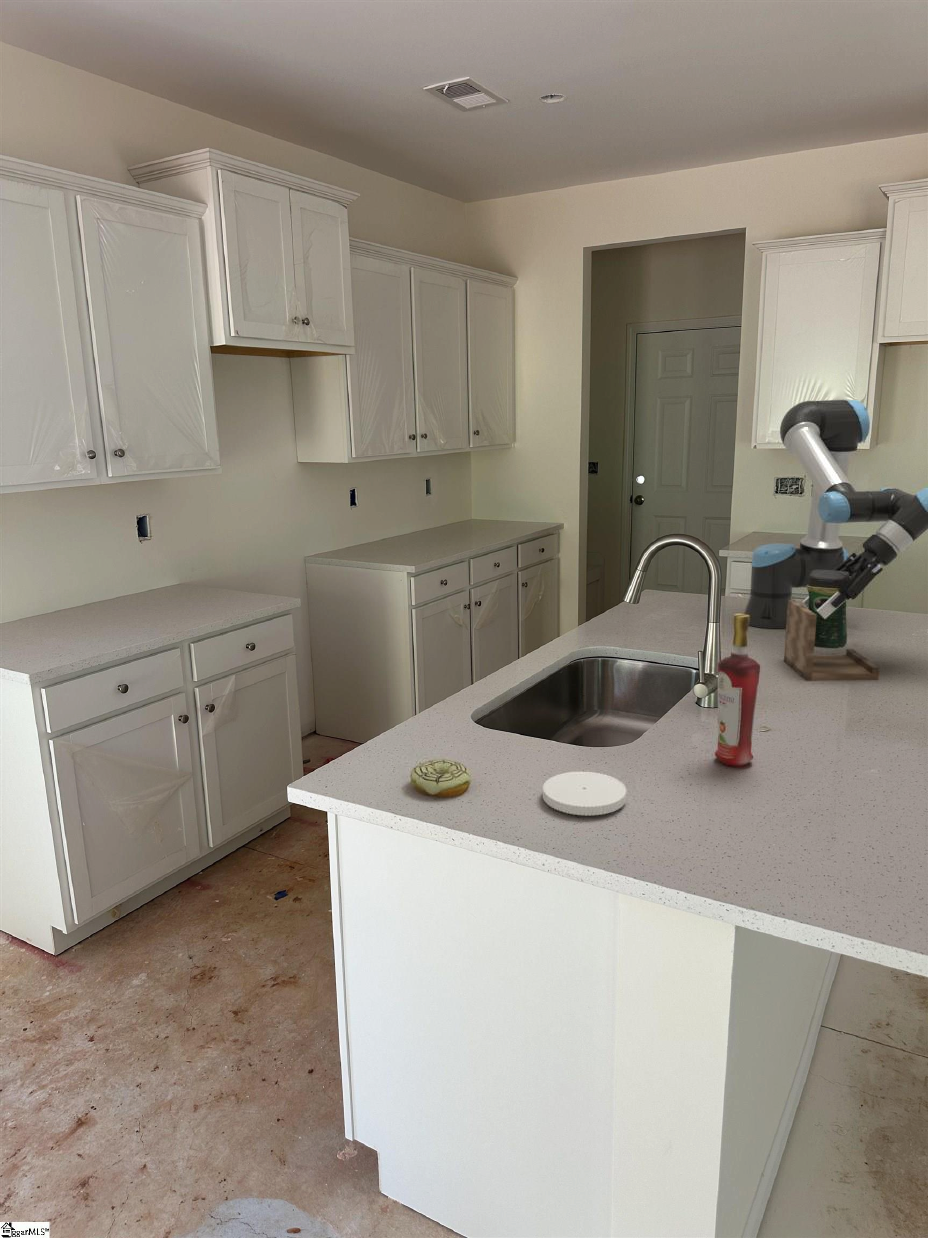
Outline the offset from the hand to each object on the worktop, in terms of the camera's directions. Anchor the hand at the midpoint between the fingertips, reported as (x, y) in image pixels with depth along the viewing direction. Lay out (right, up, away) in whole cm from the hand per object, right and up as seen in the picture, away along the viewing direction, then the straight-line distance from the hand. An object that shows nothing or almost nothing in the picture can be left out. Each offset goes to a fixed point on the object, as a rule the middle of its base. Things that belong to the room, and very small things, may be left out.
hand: (813, 610), depth 212 cm
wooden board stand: (+5, -15, +4) cm, 16 cm away
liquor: (-35, -29, -50) cm, 67 cm away
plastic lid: (-64, -33, -64) cm, 97 cm away
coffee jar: (+3, -9, +2) cm, 10 cm away
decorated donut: (-89, -32, -57) cm, 110 cm away
